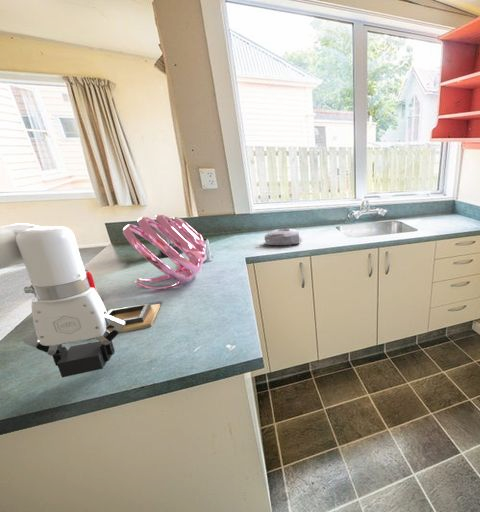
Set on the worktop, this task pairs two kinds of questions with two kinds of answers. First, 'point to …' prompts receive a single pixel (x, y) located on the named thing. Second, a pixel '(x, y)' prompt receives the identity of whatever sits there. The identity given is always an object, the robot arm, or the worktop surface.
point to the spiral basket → (169, 248)
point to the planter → (207, 250)
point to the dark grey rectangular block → (81, 359)
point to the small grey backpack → (282, 237)
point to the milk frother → (168, 243)
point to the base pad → (135, 316)
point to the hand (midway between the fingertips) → (87, 361)
